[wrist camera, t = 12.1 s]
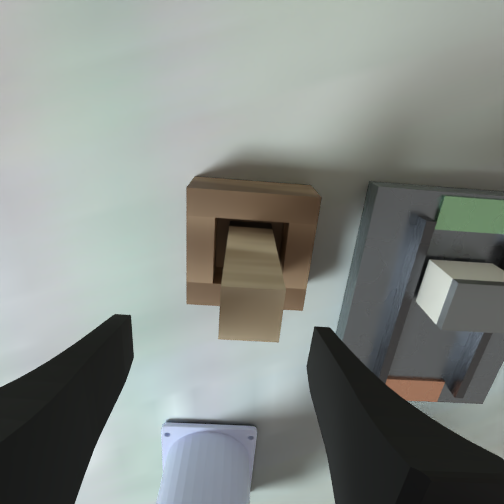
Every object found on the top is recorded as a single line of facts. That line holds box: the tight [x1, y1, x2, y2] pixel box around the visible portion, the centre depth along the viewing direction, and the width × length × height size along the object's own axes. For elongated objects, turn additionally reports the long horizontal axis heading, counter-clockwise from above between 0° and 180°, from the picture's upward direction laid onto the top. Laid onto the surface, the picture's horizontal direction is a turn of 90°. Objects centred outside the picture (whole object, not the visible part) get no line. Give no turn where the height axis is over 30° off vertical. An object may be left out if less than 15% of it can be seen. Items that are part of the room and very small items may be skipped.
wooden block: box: [218, 221, 286, 342], centre depth 17 cm, size 2×2×8 cm
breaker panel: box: [336, 181, 504, 404], centre depth 22 cm, size 16×12×2 cm
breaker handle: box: [416, 259, 504, 334], centre depth 19 cm, size 3×4×3 cm
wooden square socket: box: [187, 176, 321, 311], centre depth 20 cm, size 7×7×3 cm
